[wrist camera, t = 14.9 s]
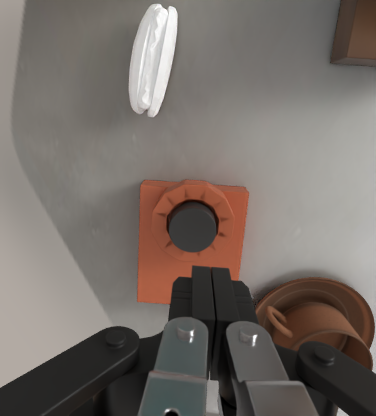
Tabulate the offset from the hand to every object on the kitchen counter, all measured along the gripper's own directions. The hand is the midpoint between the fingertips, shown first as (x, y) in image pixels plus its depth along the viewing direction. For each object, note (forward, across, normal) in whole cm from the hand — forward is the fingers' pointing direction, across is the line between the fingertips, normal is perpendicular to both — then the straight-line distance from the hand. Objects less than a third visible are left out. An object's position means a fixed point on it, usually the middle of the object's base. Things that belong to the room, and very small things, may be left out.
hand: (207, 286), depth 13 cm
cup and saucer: (+17, -12, +13) cm, 24 cm away
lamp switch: (+13, +1, +2) cm, 13 cm away
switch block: (+16, 0, +5) cm, 17 cm away
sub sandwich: (+17, +4, -10) cm, 20 cm away
